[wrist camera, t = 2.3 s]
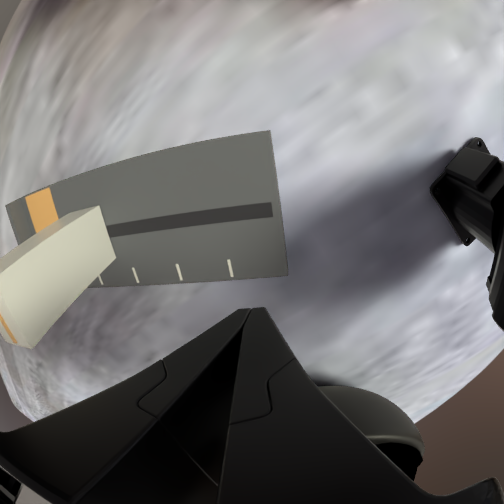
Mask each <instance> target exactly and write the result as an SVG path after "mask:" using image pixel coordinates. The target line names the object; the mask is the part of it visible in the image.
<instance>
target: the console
mask: <svg viewBox="0 0 504 504" xmlns="http://www.w3.org/2000/svg"><path fill="white" fill-rule="evenodd" d="M98 205H99V206H100V209H101V213H102V216H103V219H104V223H105V226H106V229H107V232H108V235H109V238H110V241H111V244H112V247H113V250H114V253H115V256H116V259H115V260H114V261H113V262H112V263H111V264H110V265H109V266H108V267H107V268H106V269H105V270H104V271H103V272H102V273H101V274H100V275H99V276H98V277H97V278H96V279H95V280H94V281H93V282H92V283H91V284H90V285H89V286H88V287H87V288H93V287H119V286H141V285H161V284H179V283H196V282H212V281H226V280H240V279H254V278H267V277H279V276H288V265H287V256H286V247H285V238H284V229H283V221H282V213H281V205H280V197H279V189H278V182H277V174H276V167H275V160H274V153H273V146H272V139H271V132H270V130H269V131H261V132H254V133H247V134H240V135H234V136H228V137H222V138H217V139H211V140H206V141H201V142H196V143H191V144H186V145H182V146H177V147H173V148H169V149H164V150H160V151H156V152H152V153H148V154H145V155H141V156H137V157H133V158H130V159H126V160H123V161H119V162H116V163H113V164H110V165H106V166H103V167H100V168H97V169H94V170H91V171H88V172H85V173H82V174H79V175H76V176H73V177H71V178H68V179H65V180H62V181H60V182H57V183H55V184H52V185H49V186H47V187H44V188H42V189H40V190H37V191H35V192H32V193H30V194H28V195H25V196H23V197H21V198H19V199H17V200H15V201H13V202H11V203H9V204H7V205H5V206H6V210H7V213H8V216H9V219H10V222H11V226H12V228H13V231H14V234H15V237H16V240H17V243H18V245H20V244H21V243H23V242H24V241H26V240H27V239H29V238H30V237H32V236H33V235H35V234H36V233H38V232H39V231H41V230H42V229H44V228H46V227H47V226H49V225H50V224H52V223H53V222H55V221H57V220H58V219H60V218H62V217H63V216H65V215H67V214H68V213H71V212H74V211H78V210H82V209H86V208H90V207H94V206H98Z"/></svg>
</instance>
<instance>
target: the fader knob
mask: <svg viewBox="0 0 504 504" xmlns="http://www.w3.org/2000/svg"><path fill="white" fill-rule="evenodd" d="M115 259H116V256H115V253H114V250H113V247H112V244H111V241H110V238H109V235H108V232H107V229H106V226H105V223H104V219H103V216H102V213H101V209H100V206H99V205H98V206H94V207H90V208H86V209H82V210H78V211H74V212H71V213H68V214H67V215H65V216H63V217H62V218H60V219H58V220H57V221H55V222H53V223H52V224H50V225H49V226H47V227H46V228H44V229H42V230H41V231H39V232H38V233H36V234H35V235H33V236H32V237H30V238H29V239H27V240H26V241H24V242H23V243H21V244H20V245H18V246H17V247H16V248H14V249H13V250H11V251H10V252H9V253H7V254H6V255H5V256H3V257H2V258H0V333H1V335H2V337H3V338H4V340H5V341H6V342H8V343H11V344H15V345H18V346H22V347H25V348H29V349H33V348H34V347H35V346H36V345H37V343H38V342H39V341H40V340H41V338H42V337H43V336H44V335H45V334H46V333H47V331H48V330H49V329H50V328H51V327H52V326H53V324H54V323H55V322H56V321H57V320H58V319H59V317H60V316H61V315H62V314H63V313H64V312H65V311H66V310H67V309H68V307H69V306H70V305H71V304H72V303H73V302H74V301H75V300H76V299H77V298H78V297H79V295H80V294H81V293H82V292H83V291H84V290H85V289H86V288H87V287H88V286H89V285H90V284H91V283H92V282H93V281H94V280H95V279H96V278H97V277H98V276H99V275H100V274H101V273H102V272H103V271H104V270H105V269H106V268H107V267H108V266H109V265H110V264H111V263H112V262H113V261H114V260H115Z"/></svg>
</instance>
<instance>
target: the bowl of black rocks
mask: <svg viewBox="0 0 504 504" xmlns="http://www.w3.org/2000/svg"><path fill="white" fill-rule="evenodd" d="M318 388H319V389H320V390H321V391H322V392H323V393H324V394H325V395H326V397H327V398H328V399H329V400H330V401H331V402H332V403H333V404H334V405H335V406H336V407H337V408H338V409H339V410H340V411H341V412H342V413H343V414H344V415H345V416H346V417H347V418H348V419H349V420H350V421H351V422H352V423H353V424H354V425H355V426H356V427H357V428H358V429H359V430H360V431H361V432H362V433H363V434H364V435H365V436H366V437H367V438H368V439H369V440H370V441H371V442H372V443H373V444H374V445H375V446H376V447H377V448H378V449H379V450H380V451H381V452H383V453H384V454H385V455H386V456H387V457H388V458H389V459H390V460H391V461H392V462H393V463H394V464H395V465H396V466H397V467H398V468H399V469H401V470H402V471H403V472H404V473H405V474H406V475H407V476H408V477H409V478H410V479H411V480H412V481H414V479H415V475H416V471H417V467H418V466H419V465H420V464H421V462H422V461H423V459H422V456H423V454H424V450H425V446H424V442H423V440H422V437H421V435H420V433H419V431H418V429H417V427H416V426H415V424H414V423H413V422H412V420H411V419H410V418H409V417H408V416H407V414H406V413H405V412H403V411H402V410H401V409H400V408H399V407H398V406H397V405H395V404H394V403H392V402H391V401H389V400H388V399H386V398H384V397H382V396H380V395H378V394H375V393H373V392H370V391H367V390H363V389H359V388H354V387H348V386H321V387H318Z"/></svg>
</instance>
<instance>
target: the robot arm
mask: <svg viewBox="0 0 504 504" xmlns="http://www.w3.org/2000/svg"><path fill="white" fill-rule="evenodd" d="M478 142H479V146H478V145H477V143H478ZM436 188H438V191H437V193H435V189H436ZM430 193H431V195H432V197H433V198H434V199H435V201H436V202H437V204H438V205H439V207H440V208H441V210H442V211H443V213H444V214H445V216H446V217H447V219H448V221H449V222H450V224H451V225H452V227H453V229H454V230H455V232H456V234H457V235H458V237H459V239H460V240H461V242H462V243H463V244H464V245H465V246H469V245H470V244H471V243H472V242H473V241H474V240H475V239H476V238H477V239H478V240H479V241H480V242H481V243H483V244H484V245H485V246H486V247H487V248H488V249H490V250H491V251H492V252H493V253H494V254H495V255H494V260H493V264H492V268H491V272H490V276H488V279H487V282H486V285H487V288H488V291H489V301H490V304H491V307H492V310H493V314H492V317H493V319H494V321H495V322H496V323H497V325H498V326H499V327H500V328H501V329H502V330H503V331H504V162H503V161H501V160H499V158H498V157H496V156H493V155H491V154H490V153H489V151H488V149H487V147H486V145H485V143H484V142H483V140H482V139H481V138H478V137H475V138H474V139H473V140H472V141H471V142H470V143H469V144H468V146H467V147H464V148H463V149H462V150H461V151H460V152H459V153H458V155H457V156H456V157H455V158H454V159H453V160H452V161H451V162H450V163H449V164H448V166H447V167H446V169H445V171H444V172H443V173H442V174H441V176H440V177H439V178H438V179H437V180H436V181H435V182H434V183H433V184H432V185H431V187H430ZM467 238H468V239H467ZM466 239H467V241H466ZM0 465H1V466H2V467H3V468H4V469H5V470H6V471H8V472H9V473H10V474H11V475H10V474H9V473H8V472H6V471H5V470H4V469H3V468H1V467H0V504H504V493H503V490H502V488H501V486H500V484H499V482H498V480H497V479H496V478H495V477H491V478H487V479H485V480H483V481H480V482H478V483H476V484H474V485H471V486H469V487H467V488H465V489H462V490H460V491H458V492H455V493H453V494H449V495H433V494H429V493H427V492H426V491H424V490H423V489H421V488H420V487H419V486H418V485H417V484H416V483H415V482H414V481H412V480H411V479H410V478H409V477H408V476H407V475H406V474H405V473H404V472H403V471H402V470H401V469H399V468H398V467H397V466H396V465H395V464H394V463H393V462H392V461H391V460H390V459H389V458H388V457H387V456H386V455H385V454H384V453H383V452H381V451H380V450H379V449H378V448H377V447H376V446H375V445H374V444H373V443H372V442H371V441H370V440H369V439H368V438H367V437H366V436H365V435H364V434H363V433H362V432H361V431H360V430H359V429H358V428H357V427H356V426H355V425H354V424H353V423H352V422H351V421H350V420H349V419H348V418H347V417H346V416H345V415H344V414H343V413H342V412H341V411H340V410H339V409H338V408H337V407H336V406H335V405H334V404H333V403H332V402H331V401H330V400H329V399H328V398H327V397H326V395H325V394H324V393H323V392H322V391H321V390H320V389H319V388H318V387H317V386H316V384H315V383H314V382H313V381H312V380H311V379H310V377H309V376H308V375H307V373H306V372H305V370H304V369H303V368H302V366H301V364H300V363H299V361H298V360H297V359H296V357H295V355H294V354H293V352H292V351H291V349H290V347H289V346H288V344H287V342H286V341H285V339H284V338H283V336H282V334H281V333H280V331H279V329H278V328H277V326H276V325H275V323H274V321H273V320H272V318H271V316H270V315H269V313H268V311H267V310H266V308H264V307H261V308H253V309H252V310H251V309H250V308H246V309H238V310H236V311H235V312H234V313H232V314H231V315H229V316H228V317H226V318H225V319H223V320H222V321H220V322H219V323H217V324H216V325H214V326H213V327H211V328H210V329H208V330H207V331H205V332H203V333H202V334H200V335H199V336H197V337H196V338H194V339H193V340H191V341H190V342H188V343H187V344H185V345H183V346H182V347H180V348H179V349H177V350H176V351H174V352H173V353H171V354H169V355H168V356H166V357H165V358H163V361H162V360H159V361H157V362H156V363H154V364H153V365H151V366H149V367H148V368H146V369H144V370H143V371H141V372H139V373H137V374H136V375H134V376H132V377H130V378H128V379H126V380H124V381H122V382H120V383H118V384H116V385H114V386H112V387H110V388H108V389H106V390H104V391H102V392H100V393H98V394H96V395H94V396H91V397H89V398H87V399H85V400H83V401H81V402H79V403H76V404H74V405H72V406H70V407H68V408H65V409H63V410H61V411H59V412H56V413H54V414H52V415H49V416H47V417H45V418H42V419H40V420H38V421H35V422H33V423H30V424H28V425H26V426H23V427H21V428H18V429H16V430H13V431H10V432H0ZM12 475H13V476H14V477H15V478H14V477H13V476H12ZM17 479H18V480H19V481H18V480H17Z"/></svg>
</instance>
